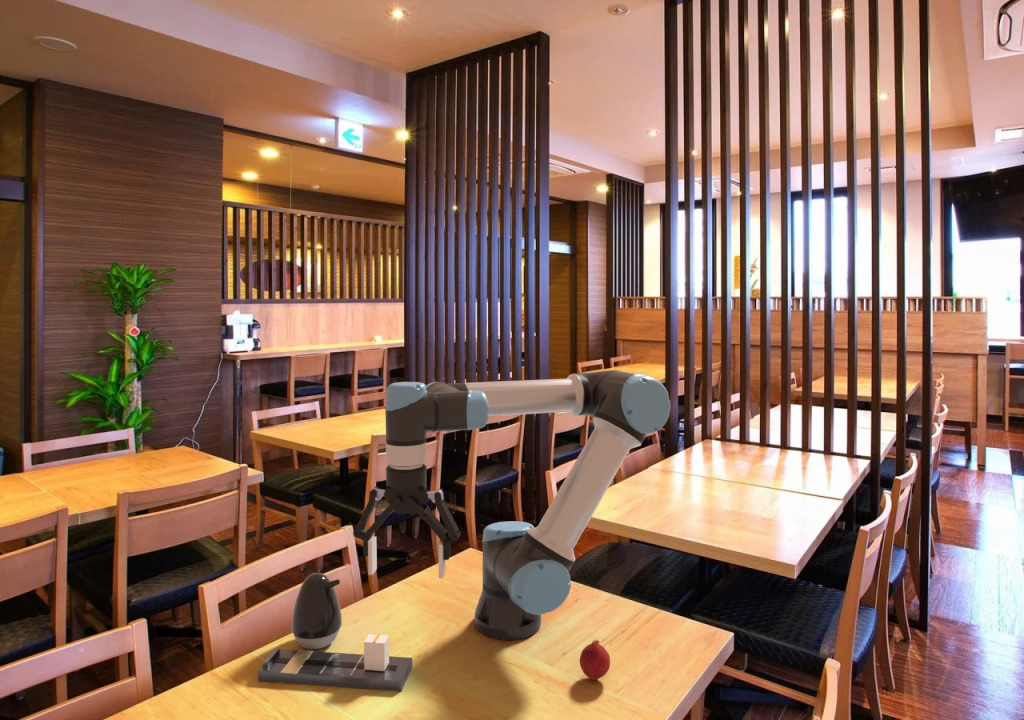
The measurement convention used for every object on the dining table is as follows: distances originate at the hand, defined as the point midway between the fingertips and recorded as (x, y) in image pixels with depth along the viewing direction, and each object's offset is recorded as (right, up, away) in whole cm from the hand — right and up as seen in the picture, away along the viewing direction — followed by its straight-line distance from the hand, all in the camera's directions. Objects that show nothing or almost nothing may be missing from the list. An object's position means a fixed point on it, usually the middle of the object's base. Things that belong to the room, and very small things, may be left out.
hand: (407, 573), depth 122 cm
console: (-14, -20, +3) cm, 25 cm away
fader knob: (-6, -18, +2) cm, 19 cm away
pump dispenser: (-21, -20, +14) cm, 32 cm away
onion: (+36, -21, +2) cm, 42 cm away
